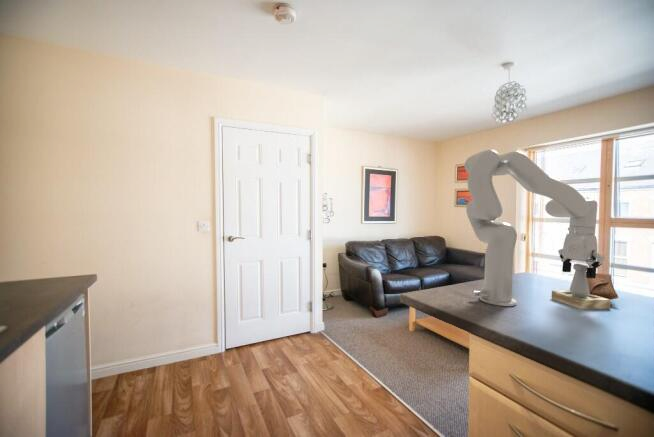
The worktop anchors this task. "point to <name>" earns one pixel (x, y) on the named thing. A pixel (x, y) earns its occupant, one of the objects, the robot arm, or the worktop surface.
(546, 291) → the worktop surface
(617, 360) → the worktop surface
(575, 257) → the robot arm
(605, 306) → the square wooden tray
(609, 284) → the sunglasses case
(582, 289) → the salt shaker
